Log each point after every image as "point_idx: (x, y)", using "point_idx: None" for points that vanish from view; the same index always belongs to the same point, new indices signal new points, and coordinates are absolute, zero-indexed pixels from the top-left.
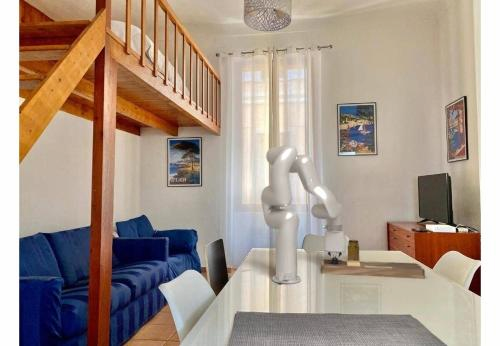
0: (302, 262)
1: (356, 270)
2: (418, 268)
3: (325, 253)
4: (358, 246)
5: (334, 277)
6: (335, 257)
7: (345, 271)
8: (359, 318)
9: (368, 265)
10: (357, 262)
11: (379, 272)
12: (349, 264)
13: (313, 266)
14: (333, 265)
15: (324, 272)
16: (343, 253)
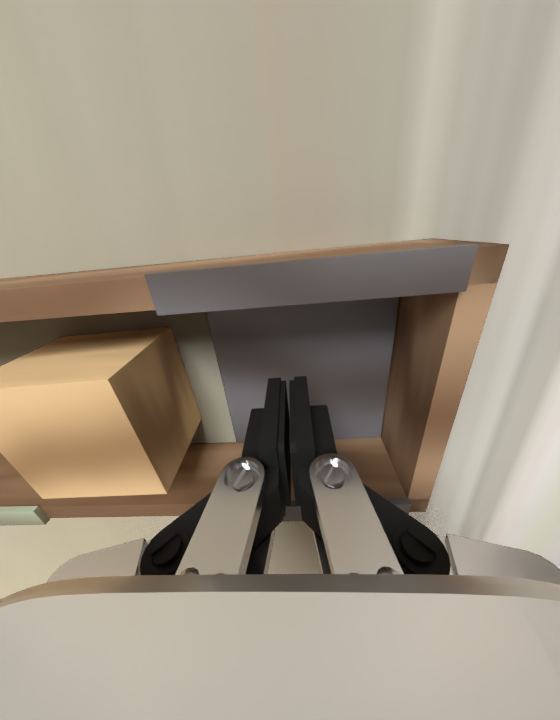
0: (515, 537)
1: (18, 283)
2: None
3: (498, 547)
4: None
5: (271, 30)
6: (276, 475)
7: (154, 267)
8: None
9: (21, 481)
10: (15, 441)
11: None
12: (91, 373)
13: (459, 468)
14: (299, 261)
15: (403, 243)
16: (105, 567)
